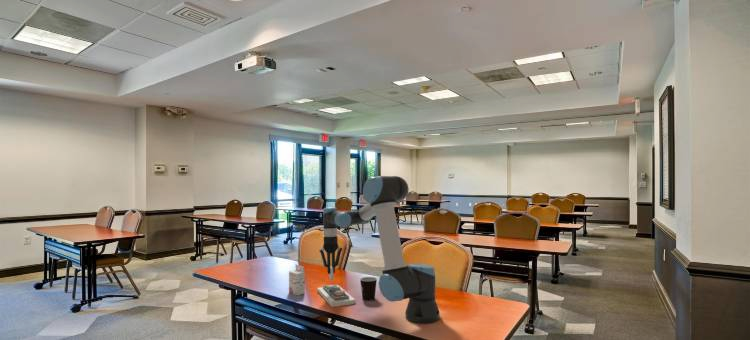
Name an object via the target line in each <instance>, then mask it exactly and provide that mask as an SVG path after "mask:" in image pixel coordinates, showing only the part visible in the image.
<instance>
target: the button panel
mask: <svg viewBox="0 0 750 340" xmlns="http://www.w3.org/2000/svg"><path fill="white" fill-rule="evenodd" d="M334 285H335V286H338V287H340V290H343V291H345V295H344V296H335V292H331V290H330V289H326V286H327V285H323V286H322V287H317V290H316V292H317V293H318V294H319V295H320V296H321V297H322V298H323V299H324V301H326V302H327V303H328V304H329V306H330V307H331V308H335V307H340V306H342V307H343V306H348V305H355V304H356V299H355V298H354V297H353V296H351V295H350V293H348V292H347V291H346V290H345V289H344V288H342V286H340V285H338V284H334Z"/></svg>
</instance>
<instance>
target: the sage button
mask: <svg viewBox="0 0 750 340" xmlns="http://www.w3.org/2000/svg"><path fill="white" fill-rule="evenodd" d="M335 285H336V284H328V285H325V286H326V289H330V288H331V287H334V286H335Z"/></svg>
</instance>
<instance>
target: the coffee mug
mask: <svg viewBox="0 0 750 340" xmlns="http://www.w3.org/2000/svg"><path fill="white" fill-rule="evenodd" d="M359 280H360V290H361V297H362V300H363V301H374V300H375V298H376V290H377V280H378V278H377V277H375V276H373V277H372V276H364V277H361V278H360V279H359Z"/></svg>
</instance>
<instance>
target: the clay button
mask: <svg viewBox="0 0 750 340" xmlns="http://www.w3.org/2000/svg"><path fill="white" fill-rule="evenodd" d="M343 290H344V289H343ZM343 290H338V291H335V296H344V295H345V291H346V290H344V291H343Z"/></svg>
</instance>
